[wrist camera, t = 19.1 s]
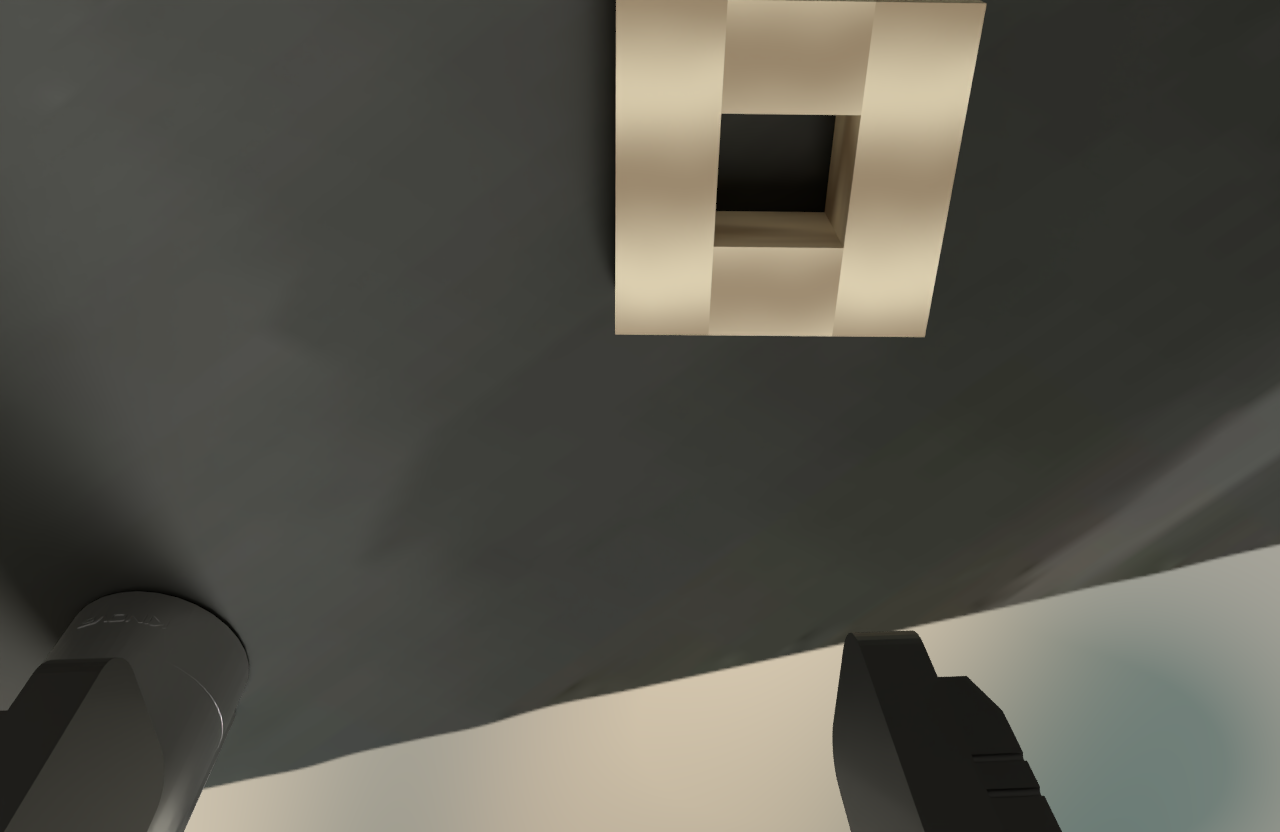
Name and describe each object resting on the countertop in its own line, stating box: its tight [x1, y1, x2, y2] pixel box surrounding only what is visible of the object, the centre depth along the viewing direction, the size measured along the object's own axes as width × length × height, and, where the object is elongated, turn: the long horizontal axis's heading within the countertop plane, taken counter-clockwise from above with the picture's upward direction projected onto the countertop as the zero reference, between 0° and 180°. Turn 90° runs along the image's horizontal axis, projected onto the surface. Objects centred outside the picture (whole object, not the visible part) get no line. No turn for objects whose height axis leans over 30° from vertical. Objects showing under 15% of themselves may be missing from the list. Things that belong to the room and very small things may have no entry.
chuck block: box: [615, 0, 987, 337], centre depth 36 cm, size 12×12×4 cm
